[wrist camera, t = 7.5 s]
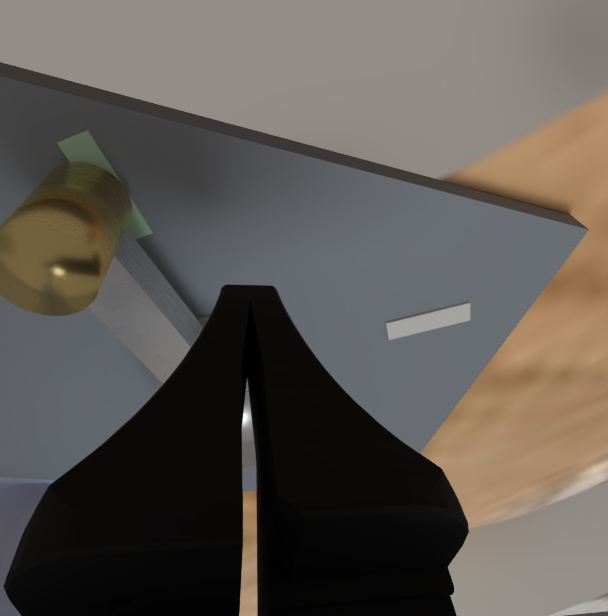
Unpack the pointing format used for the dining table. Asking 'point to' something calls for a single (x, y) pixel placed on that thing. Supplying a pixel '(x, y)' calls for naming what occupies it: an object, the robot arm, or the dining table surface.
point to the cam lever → (98, 271)
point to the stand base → (262, 265)
